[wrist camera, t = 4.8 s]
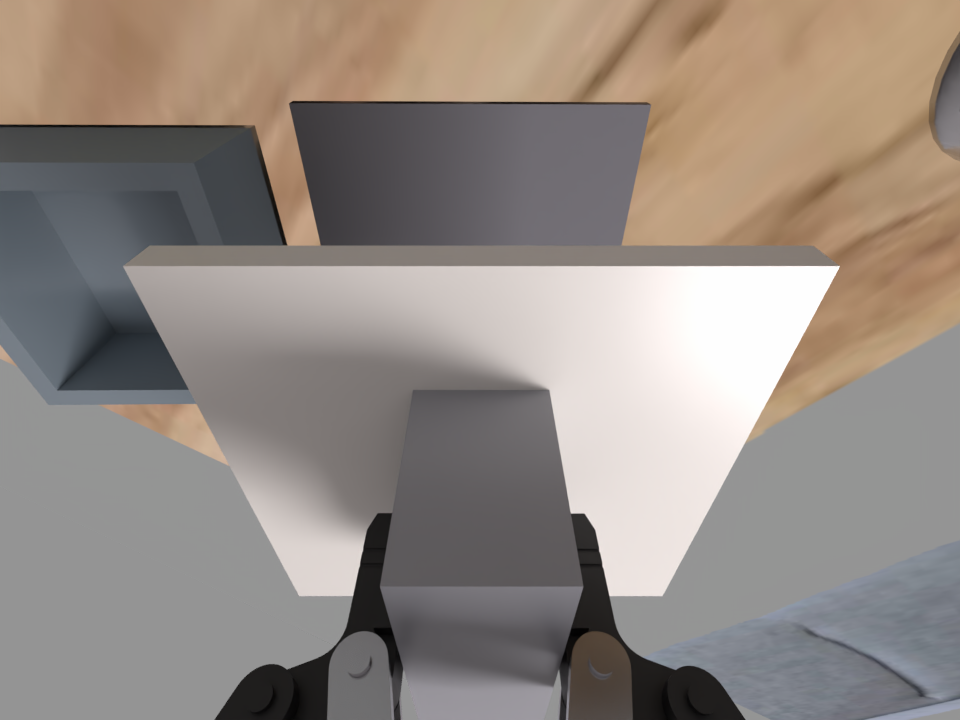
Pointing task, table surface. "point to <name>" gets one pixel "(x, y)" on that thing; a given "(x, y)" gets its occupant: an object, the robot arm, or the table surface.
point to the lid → (481, 423)
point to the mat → (470, 171)
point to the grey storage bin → (114, 245)
